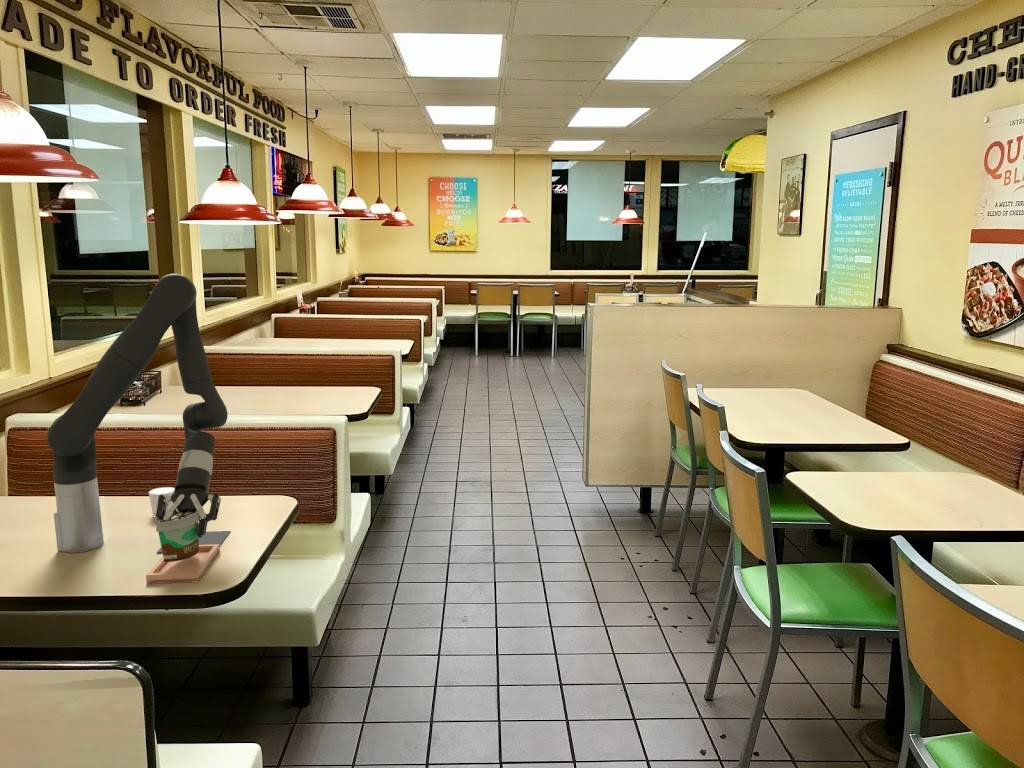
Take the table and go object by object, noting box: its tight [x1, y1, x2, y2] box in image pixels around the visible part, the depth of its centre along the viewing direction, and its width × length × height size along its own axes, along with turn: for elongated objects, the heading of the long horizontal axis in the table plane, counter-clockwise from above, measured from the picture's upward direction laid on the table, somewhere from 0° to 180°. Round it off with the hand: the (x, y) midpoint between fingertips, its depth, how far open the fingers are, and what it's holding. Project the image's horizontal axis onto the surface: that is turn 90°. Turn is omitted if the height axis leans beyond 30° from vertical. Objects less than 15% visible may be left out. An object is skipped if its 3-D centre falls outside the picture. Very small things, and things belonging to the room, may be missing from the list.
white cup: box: [148, 486, 175, 518], centre depth 213 cm, size 7×7×7 cm
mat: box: [156, 530, 231, 554], centre depth 193 cm, size 14×13×1 cm
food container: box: [155, 510, 201, 562], centre depth 178 cm, size 12×6×10 cm, turn 170°
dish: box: [145, 544, 221, 585], centre depth 178 cm, size 11×17×2 cm, turn 5°
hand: (183, 536), depth 177 cm, fingers closed on food container, 7 cm apart
